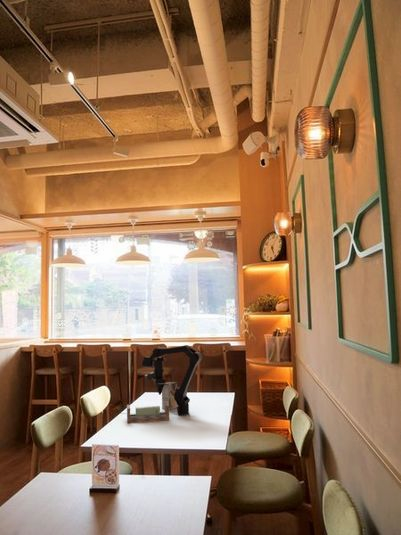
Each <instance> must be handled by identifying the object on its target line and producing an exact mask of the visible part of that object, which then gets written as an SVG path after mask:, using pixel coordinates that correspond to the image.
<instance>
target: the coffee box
mask: <svg viewBox="0 0 401 535" xmlns="http://www.w3.org/2000/svg"><path fill="white" fill-rule="evenodd" d="M178 387H179V385H178V381H177V382H176V381H175V382H174V381H169V382H165V385H164V387H163V390H162V392H161V405H162V407H161V408H162V410H165V403H168V405H169V411H170V410H172V409H175V408H176V409H177V406H178V405H177V402H176V401H175V399H174V393H175V391H176V388H178Z"/></svg>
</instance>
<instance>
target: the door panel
mask: <svg viewBox="0 0 401 535" xmlns="http://www.w3.org/2000/svg"><path fill="white" fill-rule="evenodd" d="M160 412H161V406H160V405H155V406H138V407H137V406H136V407H135V414H136V416H150V415H160Z"/></svg>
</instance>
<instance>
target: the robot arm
mask: <svg viewBox="0 0 401 535" xmlns="http://www.w3.org/2000/svg"><path fill="white" fill-rule="evenodd" d="M177 353H184V354H185V355H186V356H187V357H188V358H189V362H188V366H187V369H186V372H185V374H184V376H183V379H182V382H181V385H180V386H178V388H176V391H175V393H174V399H175V401H176V402H177V405H178V406H177V407H176V413H177V415H178V416H181V417H182V416H190V407H189V406H190V402H191V401H190V400H191V399H190V397H188V395H187V394H188V387H189V385H190V382H191V380H192V379H193V378H192V377H193V375H194V373H195V370H196V368H197V367H198V365H199V364H200V362H201V360H202V359H203V355H202V353H201V352H199V351H197V350H196V349H193V348H192V347H191V346H190V345H188V344H184V345H180V346H174V347H156V348H154V349H153V350H152V354H151V355H150V356H143V359H142V362H141V366H142V368H149V369H151V368H153V369H152V370H153V371H152V372H149V373H147V374H144V376H145V377H144V378H145V379H146V381H150V380H152V381H153V383H154V385H155V387H156V388H155V389H156V391H157V392H156V393H158V395H161V396H162V390H163V387H164V385H165V383H166V379H165V377H164V371H165V370H164V362H165V361H167V358H165V356H166V355H171V354H177Z"/></svg>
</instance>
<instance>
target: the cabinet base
mask: <svg viewBox="0 0 401 535" xmlns="http://www.w3.org/2000/svg"><path fill="white" fill-rule="evenodd" d="M126 419H127V420H126V422H127V424H134V423H135V424H136V423H145V422H146V423H149V422H151V423H152V422H164V421H170V410H169V405H168V403H165V409H164V411H162V412H161V411H160V415H150V416H136V413H131V405H130V404H127V405H126Z"/></svg>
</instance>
